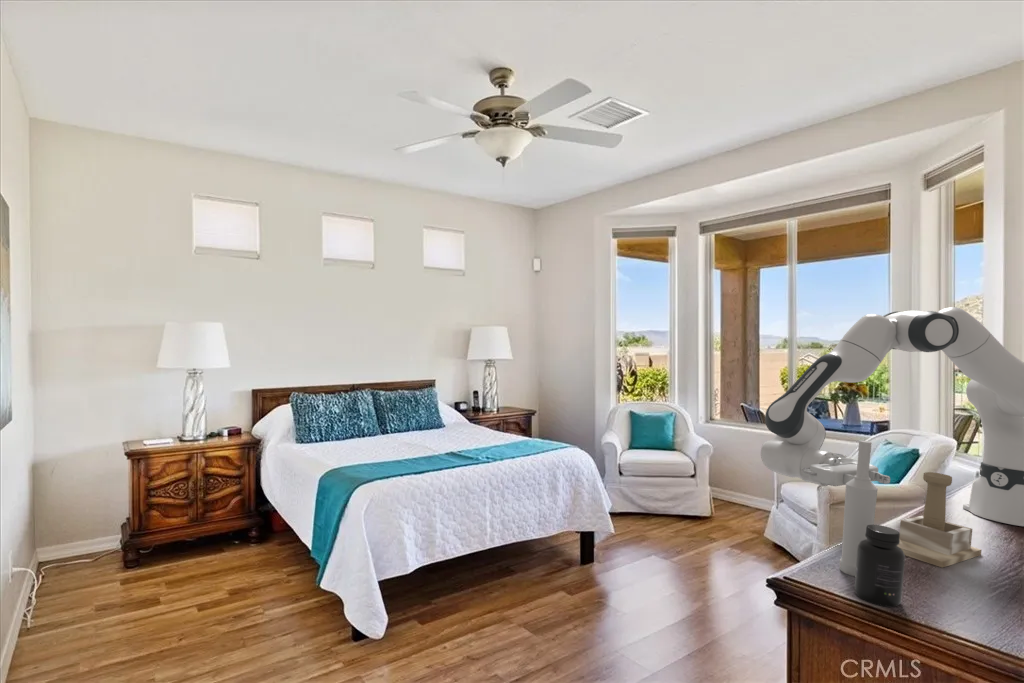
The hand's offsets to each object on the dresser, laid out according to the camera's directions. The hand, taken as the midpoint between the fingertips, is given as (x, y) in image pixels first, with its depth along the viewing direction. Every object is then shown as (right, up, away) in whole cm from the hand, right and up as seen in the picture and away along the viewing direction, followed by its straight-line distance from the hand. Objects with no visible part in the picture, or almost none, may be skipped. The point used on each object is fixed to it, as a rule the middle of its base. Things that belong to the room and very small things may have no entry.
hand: (878, 481), depth 136 cm
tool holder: (+4, -12, -11) cm, 17 cm away
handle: (+5, -11, -10) cm, 16 cm away
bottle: (-22, -11, -27) cm, 36 cm away
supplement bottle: (-24, -11, -38) cm, 46 cm away
